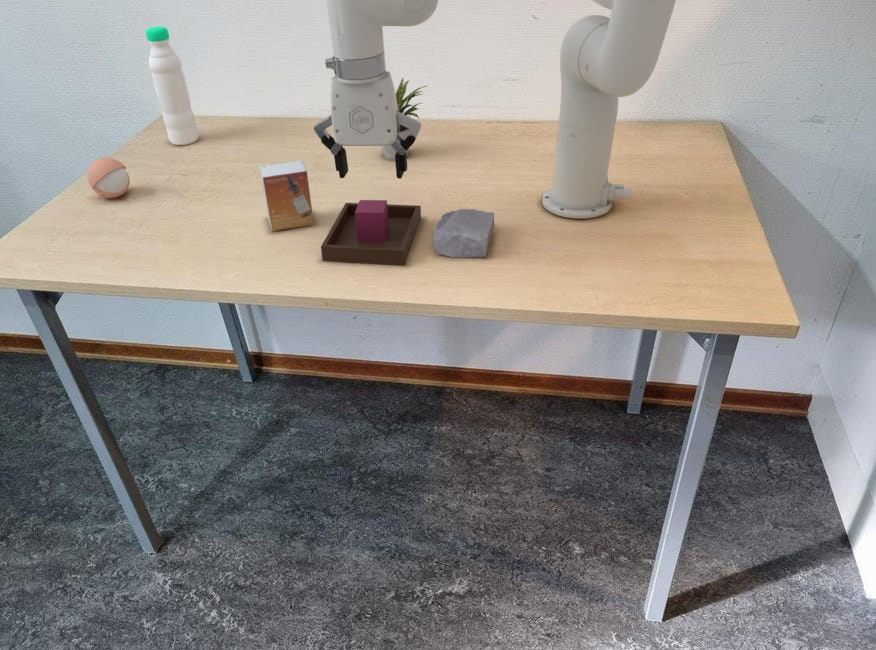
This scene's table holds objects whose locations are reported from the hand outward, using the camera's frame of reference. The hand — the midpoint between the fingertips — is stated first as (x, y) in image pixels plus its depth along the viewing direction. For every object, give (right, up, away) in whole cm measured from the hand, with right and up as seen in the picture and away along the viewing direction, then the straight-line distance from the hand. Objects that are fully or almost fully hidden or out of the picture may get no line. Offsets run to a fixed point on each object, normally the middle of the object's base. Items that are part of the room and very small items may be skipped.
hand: (372, 175), depth 109 cm
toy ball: (-54, +3, +28) cm, 61 cm away
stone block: (+15, -10, +5) cm, 19 cm away
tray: (0, -9, +7) cm, 12 cm away
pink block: (0, -9, +7) cm, 11 cm away
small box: (-16, -5, +14) cm, 22 cm away
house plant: (+4, +14, +36) cm, 39 cm away
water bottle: (-48, +22, +51) cm, 73 cm away
